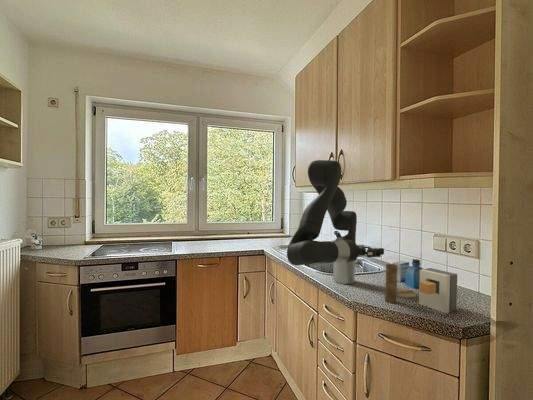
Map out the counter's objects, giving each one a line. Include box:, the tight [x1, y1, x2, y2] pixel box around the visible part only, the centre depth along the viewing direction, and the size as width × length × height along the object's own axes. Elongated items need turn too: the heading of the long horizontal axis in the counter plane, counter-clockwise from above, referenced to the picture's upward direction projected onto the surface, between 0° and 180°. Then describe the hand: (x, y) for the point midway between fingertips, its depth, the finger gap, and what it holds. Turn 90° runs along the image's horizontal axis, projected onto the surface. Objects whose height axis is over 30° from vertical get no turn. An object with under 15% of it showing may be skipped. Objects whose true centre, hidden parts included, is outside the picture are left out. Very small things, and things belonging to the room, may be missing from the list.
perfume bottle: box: [404, 258, 424, 290], centre depth 136 cm, size 6×6×12 cm
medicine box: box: [391, 260, 410, 283], centre depth 146 cm, size 8×4×9 cm, turn 126°
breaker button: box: [420, 281, 436, 295], centre depth 107 cm, size 3×4×3 cm
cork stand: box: [397, 288, 417, 299], centre depth 124 cm, size 9×9×1 cm
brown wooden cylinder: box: [384, 263, 398, 304], centre depth 115 cm, size 4×4×14 cm
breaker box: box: [418, 267, 458, 314], centre depth 110 cm, size 10×6×13 cm, turn 29°
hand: (373, 249), depth 110 cm, fingers open, 8 cm apart
